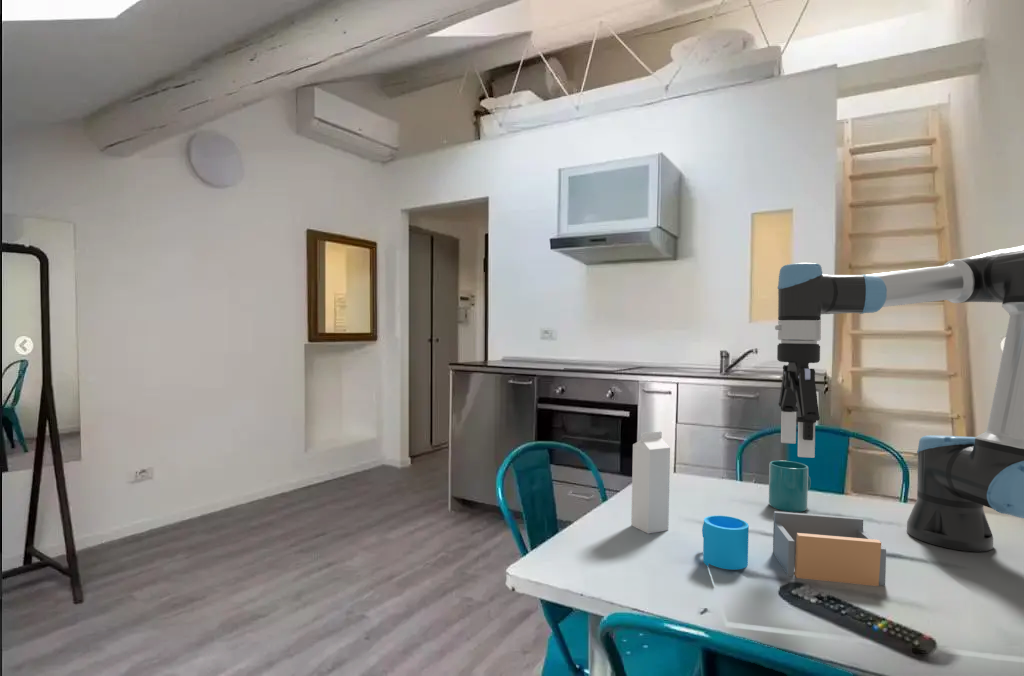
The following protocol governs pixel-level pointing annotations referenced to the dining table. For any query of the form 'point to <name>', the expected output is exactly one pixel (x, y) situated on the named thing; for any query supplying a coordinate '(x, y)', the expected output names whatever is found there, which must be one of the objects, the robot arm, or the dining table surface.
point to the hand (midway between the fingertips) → (796, 449)
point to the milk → (650, 483)
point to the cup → (788, 486)
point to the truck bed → (814, 524)
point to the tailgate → (838, 559)
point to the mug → (725, 542)
